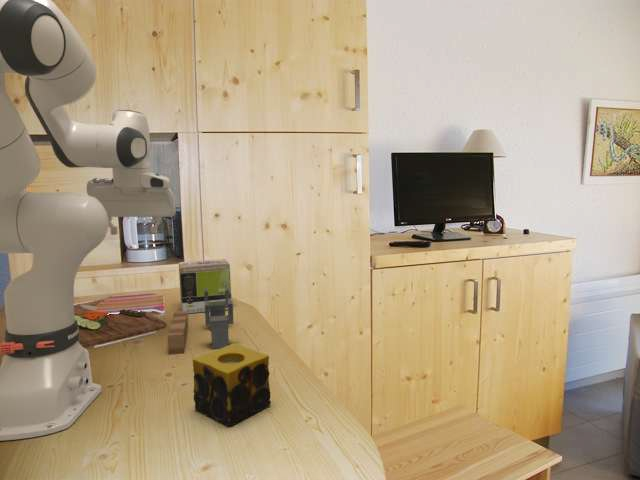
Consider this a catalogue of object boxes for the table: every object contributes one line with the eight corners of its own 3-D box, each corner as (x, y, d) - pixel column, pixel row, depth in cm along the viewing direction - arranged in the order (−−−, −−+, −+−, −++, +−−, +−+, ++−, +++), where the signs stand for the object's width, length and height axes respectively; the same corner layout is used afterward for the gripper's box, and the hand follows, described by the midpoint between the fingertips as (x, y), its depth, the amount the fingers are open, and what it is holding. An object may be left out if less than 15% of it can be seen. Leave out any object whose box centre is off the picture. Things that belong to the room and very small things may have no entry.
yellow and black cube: (236, 391, 95) (234, 342, 94) (272, 406, 89) (271, 354, 88) (192, 410, 88) (190, 357, 86) (229, 429, 81) (227, 372, 80)
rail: (184, 354, 115) (183, 334, 114) (168, 355, 114) (167, 335, 114) (188, 328, 134) (187, 310, 134) (175, 329, 134) (174, 311, 133)
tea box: (227, 302, 160) (226, 258, 158) (232, 310, 150) (230, 263, 148) (180, 306, 155) (178, 260, 153) (181, 315, 146) (179, 266, 144)
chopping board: (21, 316, 147) (20, 306, 146) (111, 299, 165) (111, 291, 165) (70, 356, 115) (69, 344, 114) (175, 330, 133) (174, 320, 133)
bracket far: (230, 329, 132) (229, 290, 131) (205, 331, 131) (204, 291, 129) (229, 324, 136) (228, 286, 134) (205, 326, 134) (204, 288, 133)
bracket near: (234, 347, 119) (232, 303, 117) (206, 349, 117) (204, 305, 116) (233, 341, 123) (231, 299, 121) (206, 344, 121) (204, 301, 119)
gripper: (83, 179, 113) (86, 237, 116) (174, 181, 119) (175, 236, 122) (88, 176, 119) (91, 231, 122) (175, 178, 125) (176, 231, 128)
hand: (134, 234), depth 122 cm, fingers open, 8 cm apart
